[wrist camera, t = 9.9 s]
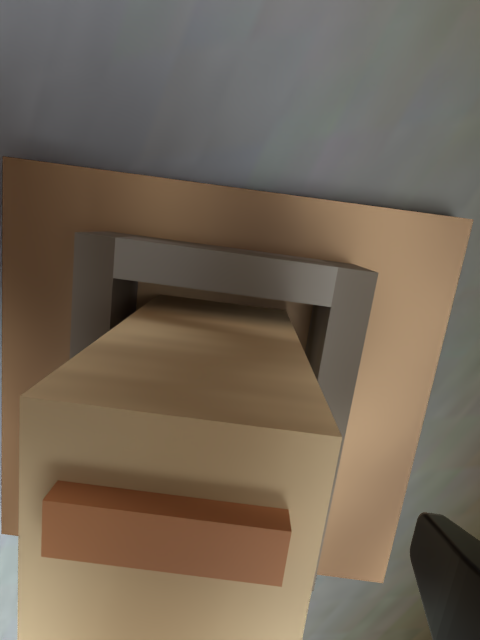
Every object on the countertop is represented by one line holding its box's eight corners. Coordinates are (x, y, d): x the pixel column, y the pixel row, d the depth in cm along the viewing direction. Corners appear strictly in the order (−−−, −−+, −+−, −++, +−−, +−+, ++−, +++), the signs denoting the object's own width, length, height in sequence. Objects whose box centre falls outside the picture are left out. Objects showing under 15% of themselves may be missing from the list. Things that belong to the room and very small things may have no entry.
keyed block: (144, 465, 14) (1, 789, 6) (159, 294, 13) (0, 410, 5) (259, 479, 14) (274, 823, 6) (286, 310, 13) (349, 455, 5)
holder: (16, 515, 16) (-48, 593, 12) (21, 161, 13) (-61, 138, 10) (374, 561, 16) (408, 651, 13) (456, 220, 13) (530, 217, 10)
